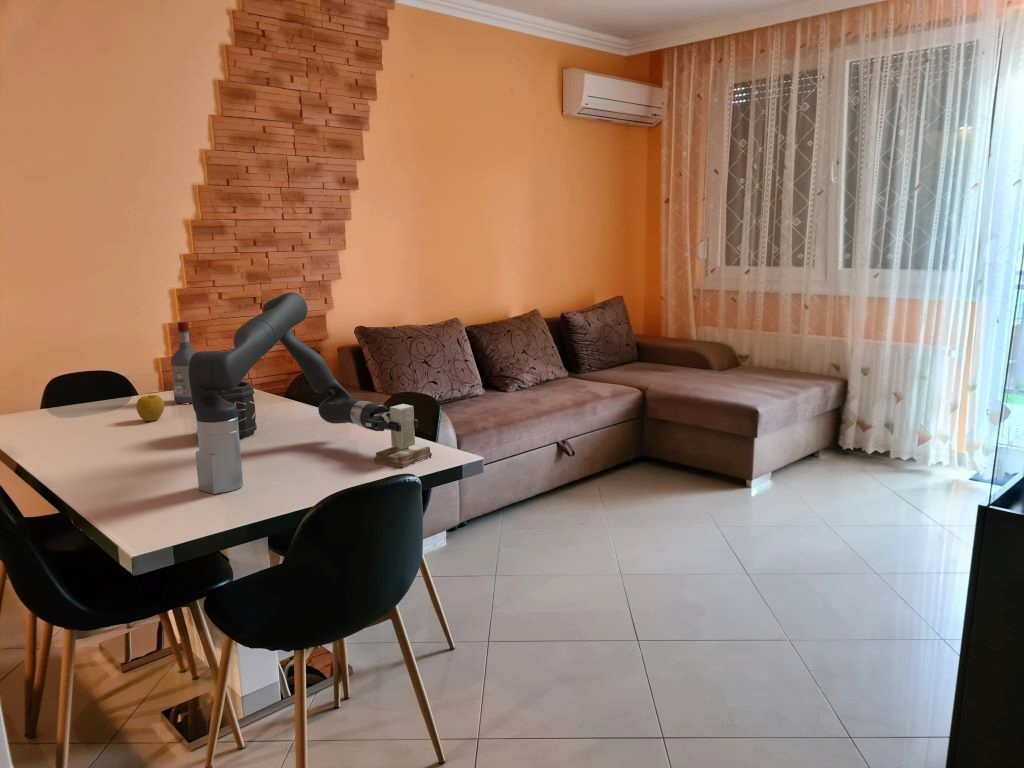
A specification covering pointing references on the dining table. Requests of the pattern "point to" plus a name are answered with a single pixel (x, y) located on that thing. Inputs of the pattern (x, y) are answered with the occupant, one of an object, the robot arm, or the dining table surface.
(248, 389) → the dark ribbed cylinder
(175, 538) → the dining table surface
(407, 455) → the shallow brown tray
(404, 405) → the box
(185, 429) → the dining table surface
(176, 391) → the liquor
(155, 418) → the apple
